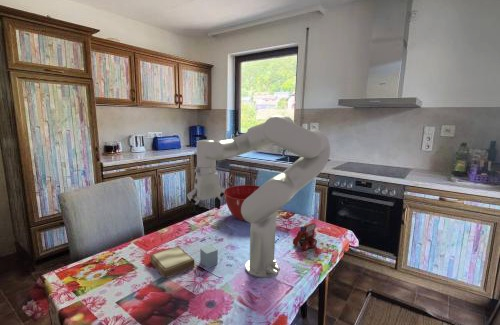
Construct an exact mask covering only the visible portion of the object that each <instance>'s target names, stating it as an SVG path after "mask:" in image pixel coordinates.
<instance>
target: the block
mask: <svg viewBox="0 0 500 325" xmlns="http://www.w3.org/2000/svg"><path fill="white" fill-rule="evenodd" d="M199 252H200V253H199V254H200V256H199V257H200V258H199V260H200V264H202V265H203V266H204V267H205V268H210V267H212V266H216V265H217V264H218V262H219V261H218V256H219V255H218V254H219V252H218V249H217V248H216V247H214V246H213V245H212V244H210V245H207V246H204V247H201V248H199Z"/></svg>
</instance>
